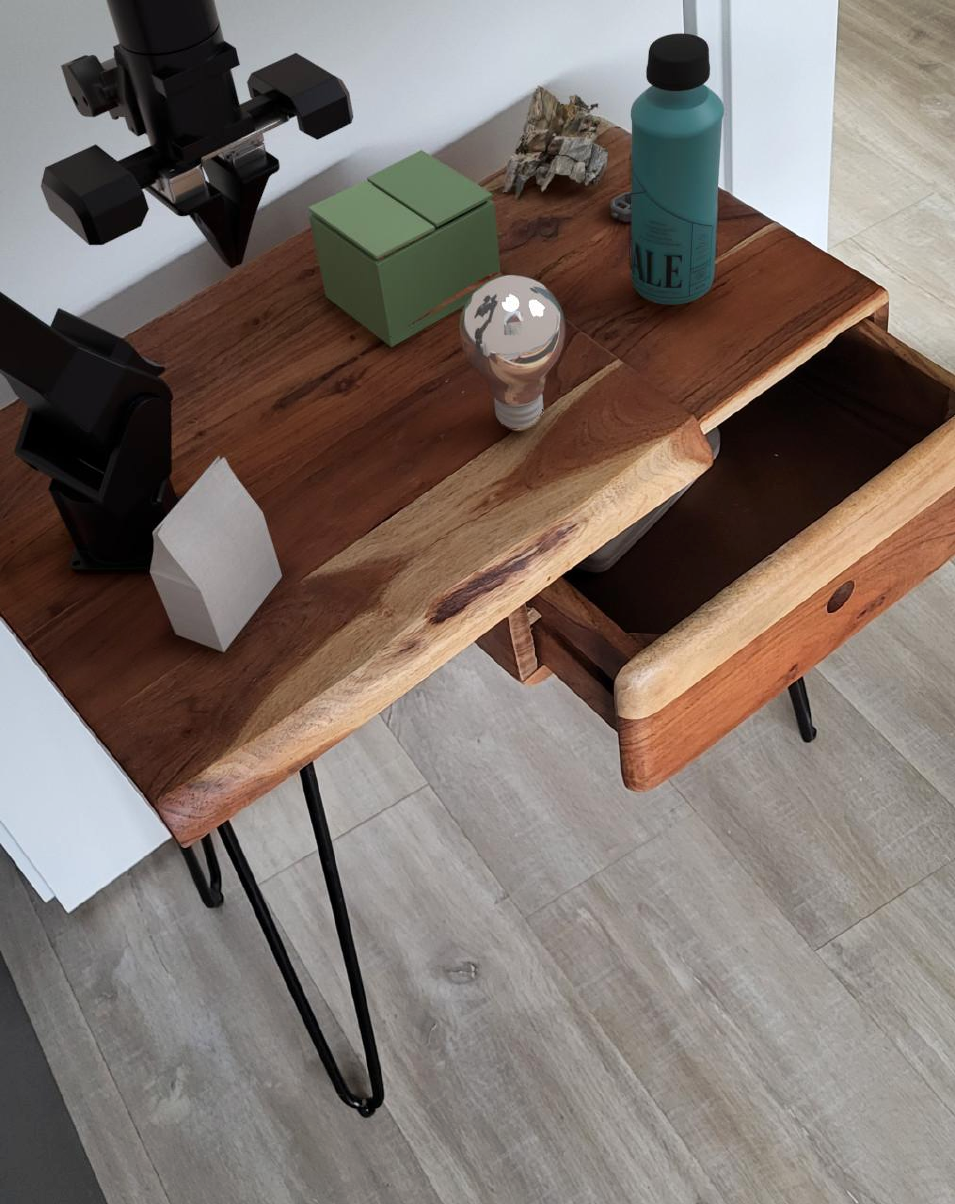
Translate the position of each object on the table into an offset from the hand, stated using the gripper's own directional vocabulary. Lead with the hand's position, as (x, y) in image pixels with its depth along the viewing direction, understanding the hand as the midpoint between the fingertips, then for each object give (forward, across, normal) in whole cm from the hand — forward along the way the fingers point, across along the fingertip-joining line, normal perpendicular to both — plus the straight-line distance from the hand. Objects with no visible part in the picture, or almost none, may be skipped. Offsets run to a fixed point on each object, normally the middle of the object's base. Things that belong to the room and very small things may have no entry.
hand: (233, 263), depth 86 cm
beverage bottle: (+13, -30, +10) cm, 34 cm away
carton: (+13, -16, -4) cm, 21 cm away
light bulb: (+13, -12, +14) cm, 22 cm away
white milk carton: (+13, +12, +13) cm, 22 cm away
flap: (+5, -13, -4) cm, 15 cm away
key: (+13, -39, -2) cm, 41 cm away
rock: (+13, -38, -8) cm, 41 cm away
